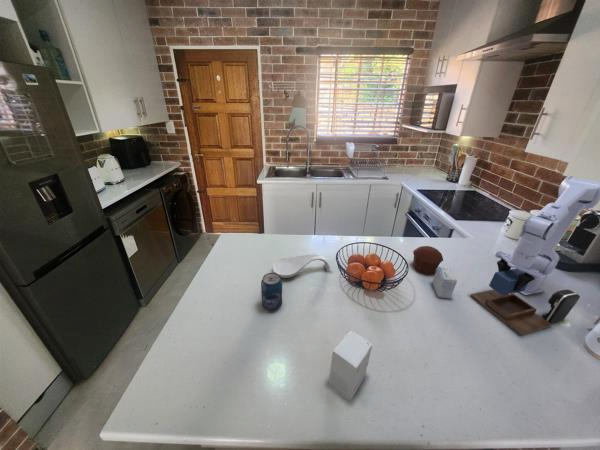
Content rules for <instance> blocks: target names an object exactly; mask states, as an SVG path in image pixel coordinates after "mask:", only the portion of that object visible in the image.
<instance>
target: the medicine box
mask: <svg viewBox="0 0 600 450" xmlns="http://www.w3.org/2000/svg"><path fill="white" fill-rule="evenodd" d="M457 282H458V280H457V278H456V276H455V275H454V273H453V270H452V269H451V268H450V267H446V266H438V268H437V269H436V271H435V274H434V278H433V280H432V286H433V288H434V291H435V293H436V295H437V298H442V299H448V300H449V299H451V298H452V295H453V292H454V290H455V288H456V285H457Z"/></svg>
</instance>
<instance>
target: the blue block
mask: <svg viewBox="0 0 600 450" xmlns="http://www.w3.org/2000/svg"><path fill="white" fill-rule="evenodd" d="M519 274H524V272H522V271H520V270H519V269H517V268H511V269H510V270H506V271H500V272H499V271H495V272H494V274H493V275H492V278H491V280H490V282H489V284H488V287H490V288H491V289H492V290H495V291H497V292H498V293H500V294H501V295H507V294H508V295H509V294H516V293H520V292H521V291H524V290H525V288H526V287H527V285H528V283H527V284H526V285H525V286H523V287H522V288H521V289H520V290H519V291H514V290H513V289H514V286H515V285H516V283H517V280H518V275H519Z"/></svg>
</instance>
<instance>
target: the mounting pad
mask: <svg viewBox="0 0 600 450" xmlns="http://www.w3.org/2000/svg"><path fill="white" fill-rule="evenodd" d="M470 297H471V298H472V299H473V300H474V301H476V302H477V303H478V304H479V305H481V307H483V308H484V309H485V310H487V312H489V313H491V314H492V315H493V316H494V317H495V318H497V319H498V320H499V321H501V323H503V324H505V326H507V328H509V329H510V330H512V331H513V332H514V333H516V335H518V336H519V337H520V336H524V335H527V334H530V333H535V332H538V331H541V330H545V329H548V328H551V327H552V326H553V324H552V323H551V322H548V321H546V320H545V319H544V318H543V317H542V316H540V315H539V314H537V313H536V312H537V310H538V309H537V308H536V307H534V306H533V305H531V304H530V303H528V302H527V301H525V300H524V299H522V298H521V297H519V296H518V295H517V294H516V293H511V294H507V295H501V294H500V293H498V292H497V291H495V290H494V289H490V290H485V291H481V292H476V293H471V294H470Z"/></svg>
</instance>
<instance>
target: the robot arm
mask: <svg viewBox="0 0 600 450" xmlns="http://www.w3.org/2000/svg"><path fill="white" fill-rule="evenodd" d="M557 195H558V197H557V199H556V200H555V202H550V203H547V204H546V205H545V206H543V207H542V208H541V210H539V211H538V212H537V213H536V214H535V215H533V216H531V215H530V216H528V217H527V219H525V221H524V222H523V224H522V226H521V231H520V234H519V239H518V241H517V243H516V245H515V247H514V249H513V251H512V253H511V254H508V253H506V252H503V251H502V250H499V251H496V252H495V255H494V257H495V258H497V259H499V260H497V261H496V265H497V269H498V272H500V271H506V270H511V269H519V270H520V271H522V272H524V274H519V275H518V280H517V283H516V285H515V286H514V289H513V290H514V291H519V290H520V289H521V288H522V287H523V286H525V285H526V284H527V283H528V285H527V287H526V288H525V290H524V291H521V292H519V293H520V294H522V295H523V296H529V295H534V294H538V293H542V292H543V289H541V288H542V286H543V285H544V283H545V282H546V280H547V278H548V276H549V275H551V274H552V272H553V271H554V270H555V269H556V267H557V265H558V263H559V261H560V255H559V254H558V252H556V250H555V249H556V248H557V246H558V245H559V243H560V242H561V240H562V239H563V237H564V236H565V234H566V233H567V232H568V230H569V229H570V228H571V226H572V225H573V224H574V222H575V220H576V219H577V218H578V216H579V215H580V214H581V213H582V212H583V211H584V210H585V209H593V208H594V207H595V206H597V205H598V204H599V202H600V181H595V180H591V179H586V178H581V177H576V176H573V175H569V176H566V177H565V178H564V179H563V181H561V183H560V185H559V187H558V194H557Z"/></svg>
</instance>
